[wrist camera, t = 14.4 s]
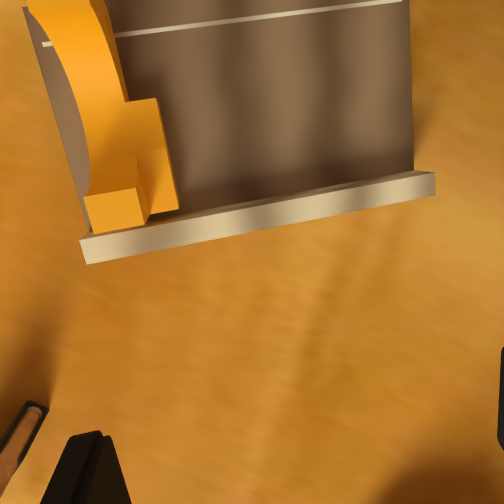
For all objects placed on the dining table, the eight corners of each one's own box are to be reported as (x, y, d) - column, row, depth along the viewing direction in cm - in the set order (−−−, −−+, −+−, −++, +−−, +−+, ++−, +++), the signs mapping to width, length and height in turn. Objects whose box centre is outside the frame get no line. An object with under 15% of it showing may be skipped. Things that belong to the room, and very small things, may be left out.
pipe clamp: (179, 201, 26) (178, 218, 20) (115, 213, 25) (93, 234, 19) (137, 4, 22) (119, -51, 16) (62, 12, 22) (13, -41, 15)
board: (391, -24, 26) (432, -57, 22) (400, 188, 30) (435, 195, 26) (35, 18, 23) (1, -11, 19) (101, 246, 27) (86, 264, 23)
